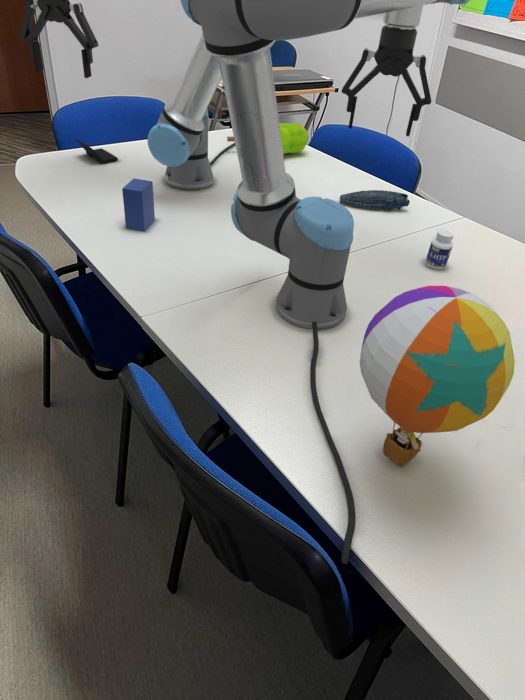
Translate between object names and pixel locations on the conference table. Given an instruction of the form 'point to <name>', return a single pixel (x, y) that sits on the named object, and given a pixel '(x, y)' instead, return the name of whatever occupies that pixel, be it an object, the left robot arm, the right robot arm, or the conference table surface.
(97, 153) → the black handled piece
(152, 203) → the brick
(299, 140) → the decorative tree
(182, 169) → the left robot arm
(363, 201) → the fish model
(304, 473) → the conference table surface
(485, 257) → the conference table surface
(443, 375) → the toy
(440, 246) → the pill bottle
